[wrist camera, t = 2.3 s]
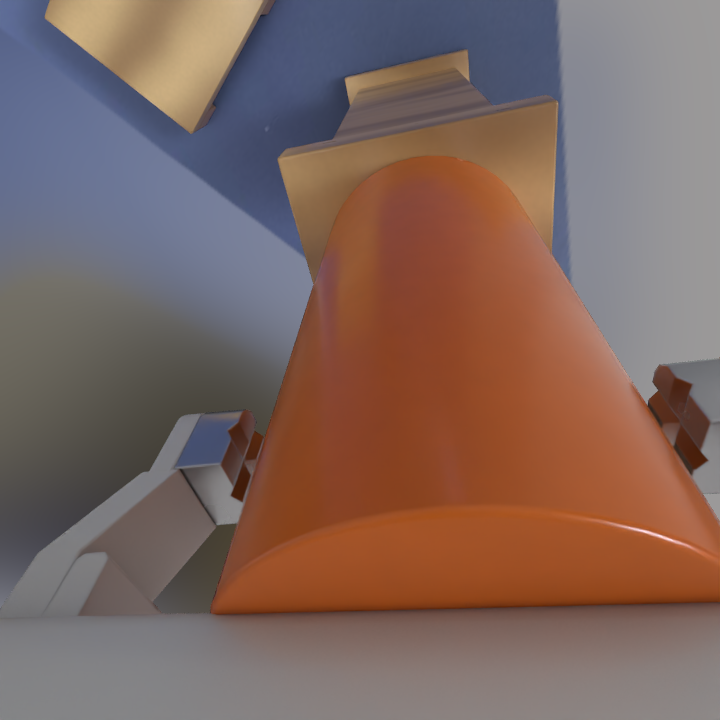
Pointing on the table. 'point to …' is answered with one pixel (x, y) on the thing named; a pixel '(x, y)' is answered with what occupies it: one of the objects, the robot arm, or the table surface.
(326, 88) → the table surface
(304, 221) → the tall stand
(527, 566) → the orange cylinder
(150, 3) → the low stand
